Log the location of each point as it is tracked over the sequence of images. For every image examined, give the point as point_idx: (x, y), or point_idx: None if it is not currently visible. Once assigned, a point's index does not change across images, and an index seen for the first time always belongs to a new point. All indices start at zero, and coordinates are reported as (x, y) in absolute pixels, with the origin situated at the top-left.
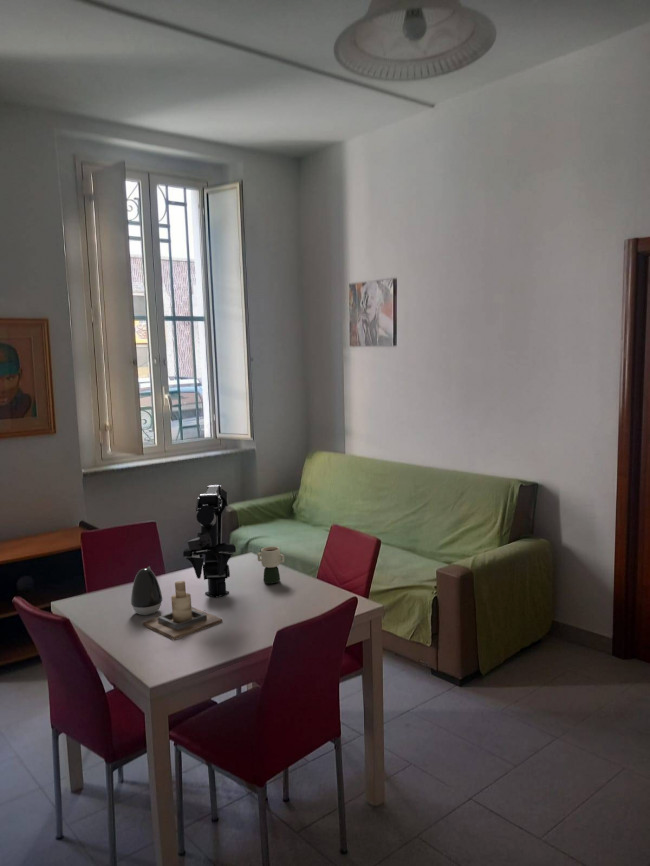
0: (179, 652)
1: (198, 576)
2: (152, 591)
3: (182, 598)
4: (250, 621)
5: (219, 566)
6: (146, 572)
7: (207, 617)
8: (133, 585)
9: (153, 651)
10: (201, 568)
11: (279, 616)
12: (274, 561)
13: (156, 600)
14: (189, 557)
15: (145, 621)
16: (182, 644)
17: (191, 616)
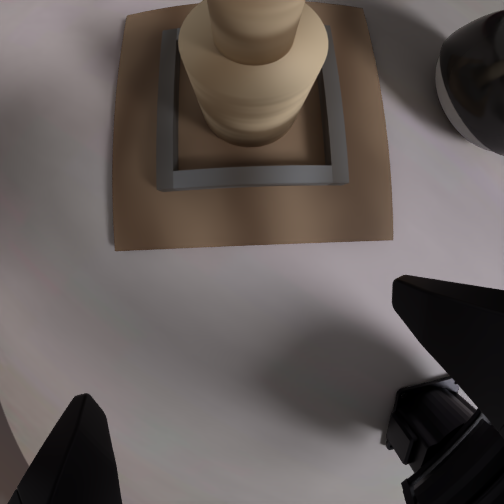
0: (52, 17)
1: (405, 291)
2: (486, 48)
3: (197, 20)
4: (56, 331)
5: (27, 474)
6: None
7: (184, 210)
8: None
9: None
10: (467, 384)
11: (46, 415)
12: None
13: (456, 78)
14: None
15: (362, 15)
16: (80, 34)
17: (210, 125)
